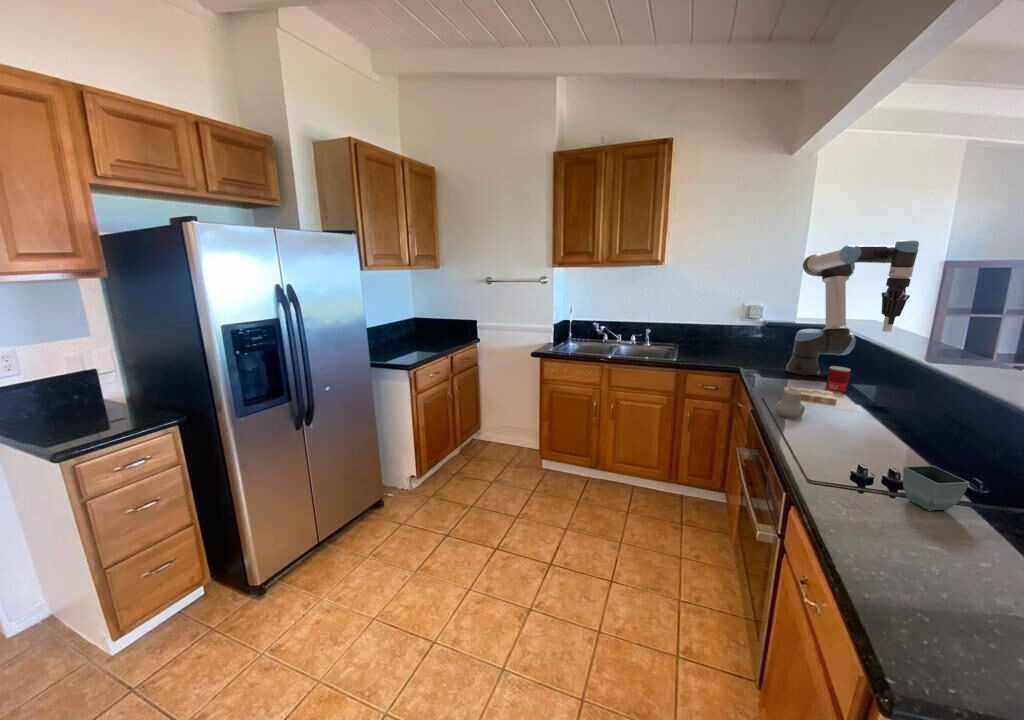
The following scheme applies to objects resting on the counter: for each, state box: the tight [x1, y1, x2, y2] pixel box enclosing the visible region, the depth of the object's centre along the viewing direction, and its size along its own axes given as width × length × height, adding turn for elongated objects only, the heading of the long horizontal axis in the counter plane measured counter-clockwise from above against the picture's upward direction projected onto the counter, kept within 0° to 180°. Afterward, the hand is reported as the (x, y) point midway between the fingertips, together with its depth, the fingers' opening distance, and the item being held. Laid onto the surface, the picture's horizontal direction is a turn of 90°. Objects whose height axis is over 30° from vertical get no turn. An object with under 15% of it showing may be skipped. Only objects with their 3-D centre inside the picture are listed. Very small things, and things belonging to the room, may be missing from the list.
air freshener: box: [774, 390, 805, 420], centre depth 167 cm, size 11×8×10 cm
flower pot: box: [902, 465, 970, 512], centre depth 108 cm, size 9×9×9 cm
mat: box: [783, 386, 859, 413], centre depth 188 cm, size 24×24×1 cm
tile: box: [788, 385, 837, 405], centre depth 189 cm, size 12×2×16 cm
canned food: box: [825, 365, 851, 393], centre depth 200 cm, size 8×8×11 cm
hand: (886, 331), depth 190 cm, fingers closed
